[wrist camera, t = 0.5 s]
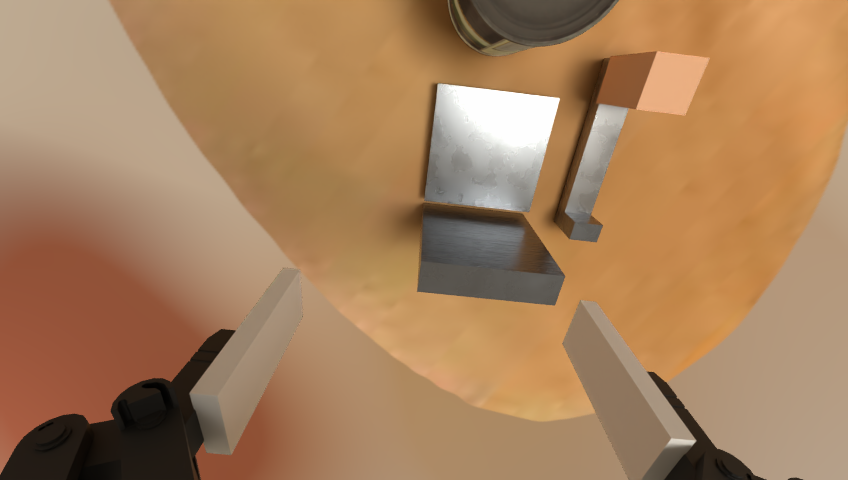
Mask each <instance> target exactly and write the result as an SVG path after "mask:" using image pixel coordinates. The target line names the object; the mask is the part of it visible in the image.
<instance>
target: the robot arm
mask: <svg viewBox="0 0 848 480" xmlns="http://www.w3.org/2000/svg"><path fill="white" fill-rule="evenodd" d="M302 317H303V312H302V294H301V276H300V269H291V268H283V269H282V270H281V271H280V273H279V274H278V275H277V277H276V278H275V279H274V281H273V282H272V283H271V285H270V286H269V288H268V289H267V290H266V291H265V293H264V294H263V295H262V297H261V298H260V299H259V301H258V302H257V303H256V305H255V306H254V307H253V309H252V310H251V312H250V313H249V314H248V315H247V317H246V318H245V319H244V321H243V322H242V323H241V325H240V326H239V328H238V329H237V330H236V331H235V330H225V329H221V330H219V331H218V332H217V333H215V334H213V335H212V336H210V337H209V338H208V339H207V340H206V341H205V342H204V343H203V345H202V346H201V347H200V348H199V349H198V352H196V353H195V354H194V355H193V357H192V358H191V360H190V362H188V363H187V364H186V365H185V366H184V368H183V369H182V370H181V371H180V372H179V373H178V375H177V376H176V377H175V378H174V379H173V381H172V382H170V381H168V380H165V379H163V378H160V379H159V378H157V379H156V378H153V379H149V380H145V381H141V382H139V383H137V384H135V385H133V386H131V387H129V388H128V389H126V390H125V391H124V392H122V393H121V394H120V395H119V396H118V397H117V399H116V400H115V401H114V402H113V404H112V408H111V413H112V415H113V417H114V420H109V421H104V422H99V423H93V424H89V423H88V421H87V420H86V418H85V417H84V416H83V415H78V414H69V415H62V416H59V417H56V418H54V419H51V420H49V421H47V422H45V423H43V424H41V425H39V426H38V427H36V428H34V429H33V430H32V431H31V432H29V433H28V434H27V435H26V436H24V437H23V439H22V440H21V441H20V442H19V444H18V445H17V446H16V448H15V449H14V451H13V453H12V455H11V457H10V458H9V460H8V462H7V464H6V465H5V467H4V469H3V471H2V473H1V475H0V480H201V479H200V473H199V469H198V465H197V459H196V457H195V455H196V453H197V451H198V450H199V448H200V446H201V445H202V443H204V446H205V449H206V452H207V453H216V454H227V455H231V454H232V452H233V450H234V448H235V447H236V445H237V443H238V441H239V439H240V437H241V435H242V433H243V431H244V429H245V427H246V425H247V423H248V422H249V420H250V418H251V416H252V414H253V412H254V410H255V408H256V406H257V404H258V402H259V400H260V398H261V396H262V395H263V393H264V391H265V389H266V387H267V385H268V383H269V381H270V379H271V377H272V375H273V373H274V371H275V369H276V367H277V366H278V364H279V362H280V360H281V358H282V356H283V354H284V352H285V350H286V348H287V346H288V344H289V342H290V341H291V339H292V336H293V335H294V333H295V331H296V329H297V327H298V325H299V323H300V321H301V319H302ZM562 344H563V346H564V348H565V350H566V352H567V354H568V356H569V358H570V360H571V362H572V364H573V367H574V369H575V371H576V373H577V375H578V377H579V379H580V381H581V383H582V385H583V387H584V389H585V391H586V393H587V395H588V397H589V399H590V401H591V403H592V405H593V407H594V410H595V412H596V414H597V416H598V418H599V420H600V422H601V424H602V426H603V428H604V430H605V432H606V434H607V436H608V438H609V440H610V442H611V444H612V446H613V448H614V450H615V452H616V455H617V457H618V459H619V461H620V463H621V465H622V467H623V469H624V471H625V473H626V475H627V477H628V479H629V480H766V479H763V478H760V477H758V476H755V475H753V473H752V472H751V470H750V469H749V468H747V467H746V466H745V465H744V464H743V463H742V462H741V461H740V460H738V459H737V458H736V457H734V456H733V455H731V454H729V453H727V452H725V451H723V450H720V449H717V448H716V447H715V446H714V444H713V443H712V442H711V440H710V439H709V438H708V437H707V435H706V434H705V433H704V431H703V430H702V429H701V427H700V426H699V425H698V423H697V422H696V421H695V420H694V418H693V417H692V416H691V414H690V413H689V412H688V410H687V409H685V408H684V407H685V406H684V405H683V404H682V402H681V401H680V400H679V399H677V396H676V394H675V393H674V392H673V391H672V389H671V388H670V387H669V385H668V384H667V383H666V382H665V381H664V380H662V379H661V378H660V377H659V376H658V375H657V374H655V373H654V372H647V371H646V370H645V369H644V368H643V366H642V365H641V363H640V362H639V361H638V359H637V358H636V356H635V355H634V354H633V352H632V351H631V350H630V348H629V347H628V345H627V344H626V343H625V341H624V340H623V339H622V337H621V336H620V334H619V333H618V332H617V330H616V329H615V327H614V326H613V325H612V323H611V322H610V321H609V319H608V318H607V316H606V315H605V314H604V312H603V311H602V309H601V308H600V307H599V305H598V304H597V303H596V302H592V301H583V300H580V302H579V305H578V307H577V309H576V312H575V314H574V317H573V319H572V322H571V324H570V326H569V329H568V331H567V334H566V336H565V339H564V341H563V343H562ZM788 480H802V479H799V478H790V479H788Z"/></svg>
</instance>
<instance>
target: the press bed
mask: <svg viewBox="0 0 848 480" xmlns="http://www.w3.org/2000/svg"><path fill="white" fill-rule="evenodd" d="M559 99H560V98H554V97H546V96H538V95H530V94H522V93H514V92H506V91H498V90H490V89H482V88H474V87H466V86H458V85H449V84H441V83H438V86H437V94H436V103H435V111H434V120H433V128H432V136H431V145H430V153H429V162H428V170H427V179H426V187H425V198H424V201H433V202H442V203H451V204H460V205H469V206H478V207H487V208H496V209H505V210H514V211H523V212H529V211H530V207H531V203H532V200H533V196H534V192H535V189H536V185H537V181H538V177H539V174H540V170H541V166H542V163H543V159H544V155H545V151H546V148H547V144H548V140H549V137H550V133H551V129H552V125H553V122H554V118H555V114H556V111H557V107H558V103H559ZM564 278H565V275H564V274H563V272H562V271H561V269H560V268H559V266H558V265H557V264H556V262H555V261H554V259H553V258H552V256H551V255H550V253H549V252H548V250H547V249H546V247H545V246H544V244H543V243H542V242H541V240H540V239H539V237H538V236H537V234H536V233H535V231H534V230H533V228H532V227H531V225H530V224H529V222H528V221H527V220H526V218H525V217H524V215H523V214H520V213H511V212H502V211H493V210H484V209H475V208H466V207H457V206H448V205H439V204H430V203H424V204H423V213H422V221H421V234H420V252H419V270H418V288H417V292H427V293H436V294H446V295H456V296H466V297H476V298H486V299H496V300H506V301H515V302H525V303H535V304H545V305H555V304H556V301H557V298H558V295H559V292H560V290H561V287H562V284H563V281H564Z"/></svg>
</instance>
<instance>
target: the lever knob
mask: <svg viewBox="0 0 848 480" xmlns="http://www.w3.org/2000/svg"><path fill="white" fill-rule="evenodd" d="M709 59H710V58H705V57H697V56H690V55H682V54H674V53H667V52H659V51H655V52H646V53H638V54H629V55H620V56H611V57H610V60H609V63H608V66H607V70H606V73H605V76H604V79H603V82H602V85H601V89H600V92H599V95H598V98H597V101H596V103H599V104H605V105H612V106H618V107H625V108H631V109H638V110H646V111H654V112H662V113H670V114H678V115H685V114H686V112H687V110H688V107H689V105H690V103H691V100H692V98H693V96H694V93H695V91H696V89H697V87H698V84H699V82H700V80H701V77H702V75H703V73H704V70H705V68H706V66H707V63H708V61H709Z"/></svg>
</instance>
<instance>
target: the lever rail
mask: <svg viewBox="0 0 848 480" xmlns="http://www.w3.org/2000/svg"><path fill="white" fill-rule="evenodd" d="M609 60H610V58H604V61H603V64H602V67H601V70H600V73H599V77H598V80H597V83H596V86H595V90H594V93H593V96H592V99H591V103H590V106H589V109H588V112H587V116H586V119H585V122H584V125H583V129H582V132H581V135H580V138H579V142H578V145H577V148H576V151H575V155H574V158H573V161H572V164H571V168H570V171H569V174H568V177H567V181H566V184H565V187H564V190H563V193H562V197H561V200H560V203H559V206H558V210H557V213H556V216H555V219H554V222H555V223H556V224H557V225H558V226H559V228H560V229H561V230H562V231H563V232H564V233H565V235H566V236H567V237H568V238H569V239H572V240H581V241H591V242H597V240H598V237H599V234H600V232H601V229H602V227H603V225H602V224H601V223H600V222H598V221H597V220H596V219H595V218H594V217H593V216H591V212H592V210H593V207H594V204H595V201H596V198H597V196H598V193H599V190H600V187H601V184H602V182H603V179H604V176H605V173H606V170H607V168H608V165H609V162H610V159H611V156H612V154H613V151H614V148H615V145H616V142H617V140H618V137H619V134H620V131H621V128H622V126H623V123H624V120H625V117H626V115H627V112H628V109H629V108H625V107H618V106H612V105H605V104H599V103H596V101H597V98H598V95H599V92H600V89H601V85H602V82H603V79H604V76H605V73H606V70H607V66H608V63H609Z"/></svg>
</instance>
